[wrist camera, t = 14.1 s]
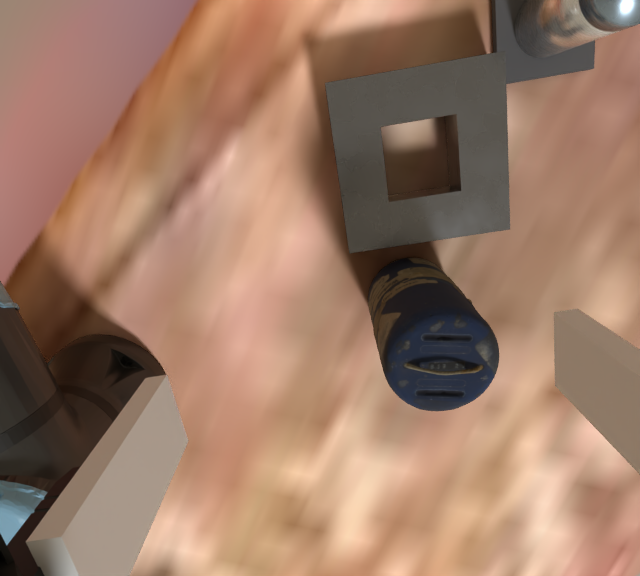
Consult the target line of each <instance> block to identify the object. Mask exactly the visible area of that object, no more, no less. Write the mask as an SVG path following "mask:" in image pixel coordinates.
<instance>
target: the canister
mask: <svg viewBox="0 0 640 576" xmlns="http://www.w3.org/2000/svg"><path fill="white" fill-rule="evenodd" d="M368 306H369V311H370V315H371V320H372V324H373V328H374V336H375V340H376V343H377V348H378V351H379V355H380V360H381V364H382V367H383V371H384V374H385V377H386V379H387V382H388V384H389V385H390V387H391V388H392V390H393V391H394V392H395V393H396V394H397V395H398V396H399V397H400V398H401V399H402V400H403V401H405V402H406V403H408V404H410V405H412V406H414V407H416V408H418V409H422V410H428V411H446V410H452V409H456V408H459V407H461V406H463V405H466V404H468V403H470V402H472V401H473V400H475V399H476V398H477V397H479V396H480V395H481V394H482V393H483V392H484V391H485V390H486V389H487V388H488V386H489V385H490V383H491V382H492V380H493V378H494V376H495V374H496V371H497V368H498V363H499V348H498V343H497V340H496V337H495V335H494V333H493V331H492V329H491V328H490V326H489V325H488V323H487V322H486V321H485V320H484V319H483V318H482V317H481V316H480V315H479V313H478V312H477V311H476V310H475V308H474V306H473V305H472V301H471V300H469V299H467V298H466V297H465V295H464V294H463V293H462V291H461V290H460V289H459V288H458V287H457V286H456V284H455V283H454V282H453V281H452V280H451V279H450V278H449V277H447V275H446V274H445V273H444V272H443V271H442V270H441V269H440V268H439V267H438V266H437V265H435V264H434V263H432V262H430V261H428V260H425V259H421V258H404V259H400V260H397V261H394V262H392V263H390V264H388V265H387V266H385V267H384V268H383V269H382V270H381V271H380V272H379V273H378V274H377V275H376V277H375V278H374V280H373V282H372V284H371V286H370V289H369V294H368Z"/></svg>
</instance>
